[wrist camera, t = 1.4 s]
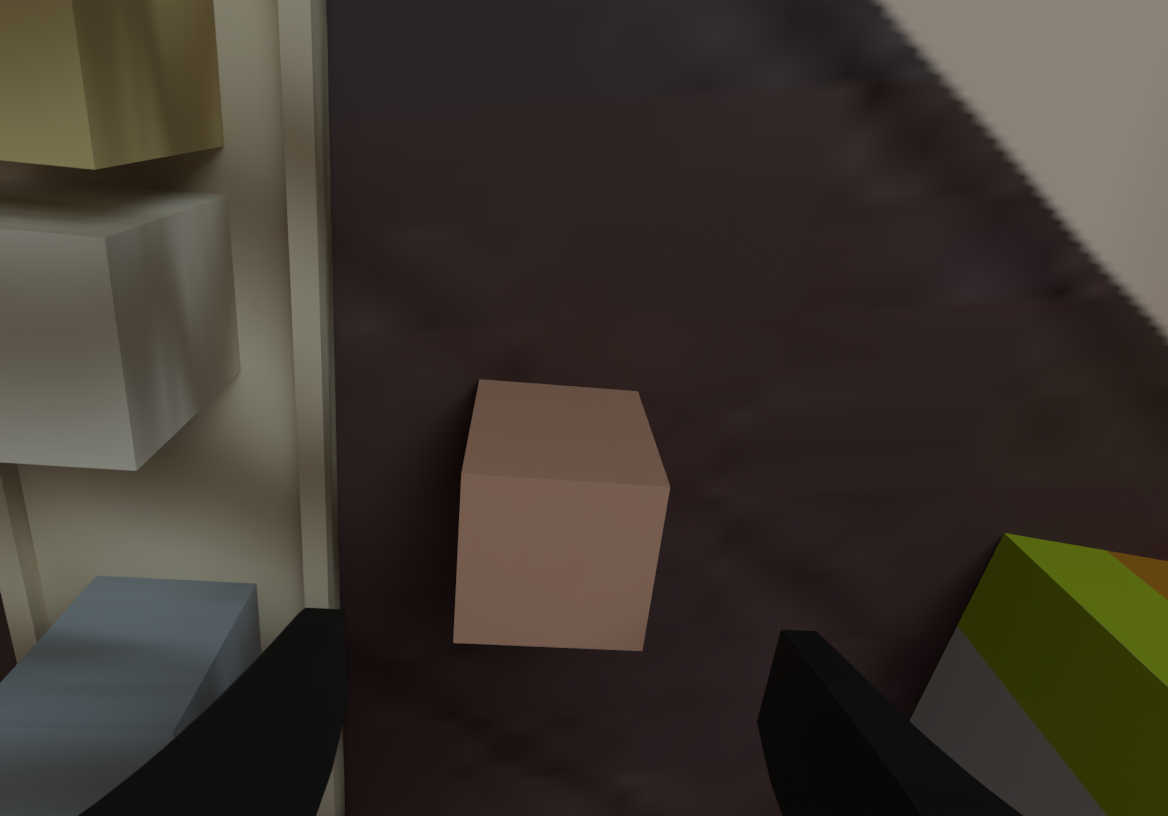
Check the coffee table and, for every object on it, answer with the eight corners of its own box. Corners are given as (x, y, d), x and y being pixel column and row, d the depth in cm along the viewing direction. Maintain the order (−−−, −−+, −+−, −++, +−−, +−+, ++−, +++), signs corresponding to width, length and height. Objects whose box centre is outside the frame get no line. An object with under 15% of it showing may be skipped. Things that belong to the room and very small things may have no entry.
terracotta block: (618, 525, 21) (642, 650, 16) (471, 516, 20) (453, 642, 16) (637, 391, 19) (669, 487, 14) (479, 378, 19) (461, 473, 14)
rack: (345, 830, 24) (294, 1028, 19) (85, 825, 24) (-40, 1030, 18) (323, -119, 14) (207, -232, 9) (-127, -180, 14) (-526, -344, 9)
